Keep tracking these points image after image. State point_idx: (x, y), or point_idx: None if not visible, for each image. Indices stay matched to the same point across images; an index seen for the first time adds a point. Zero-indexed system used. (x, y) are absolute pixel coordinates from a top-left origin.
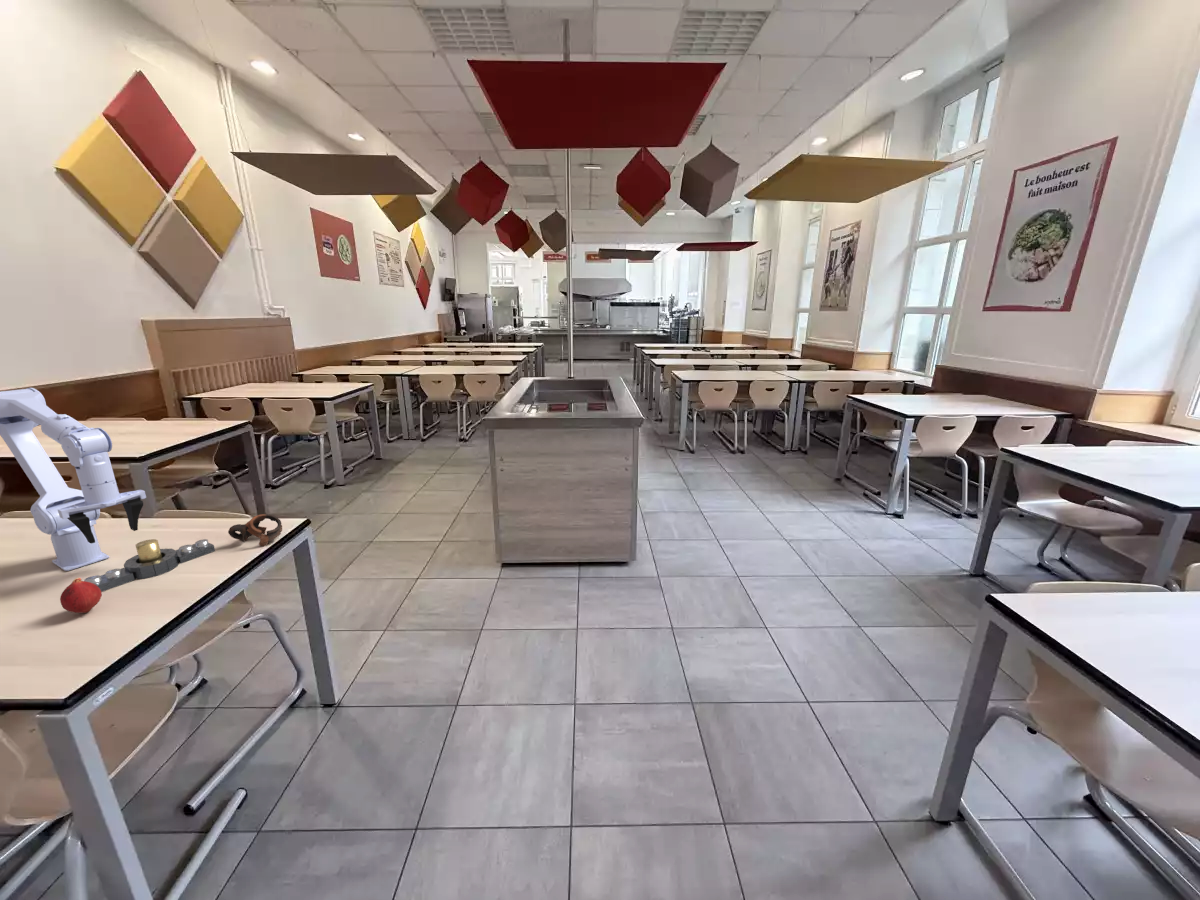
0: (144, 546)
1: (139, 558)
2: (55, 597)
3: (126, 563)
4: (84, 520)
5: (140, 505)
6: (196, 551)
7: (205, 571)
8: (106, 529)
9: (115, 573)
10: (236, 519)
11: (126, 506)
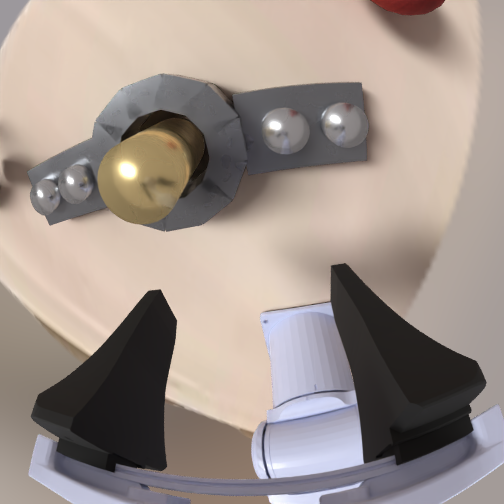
0: (145, 141)
1: (192, 153)
2: (405, 161)
3: (237, 168)
4: (431, 381)
5: (44, 399)
6: (58, 154)
7: (71, 24)
8: (241, 407)
9: (282, 109)
10: (43, 318)
11: (140, 438)
